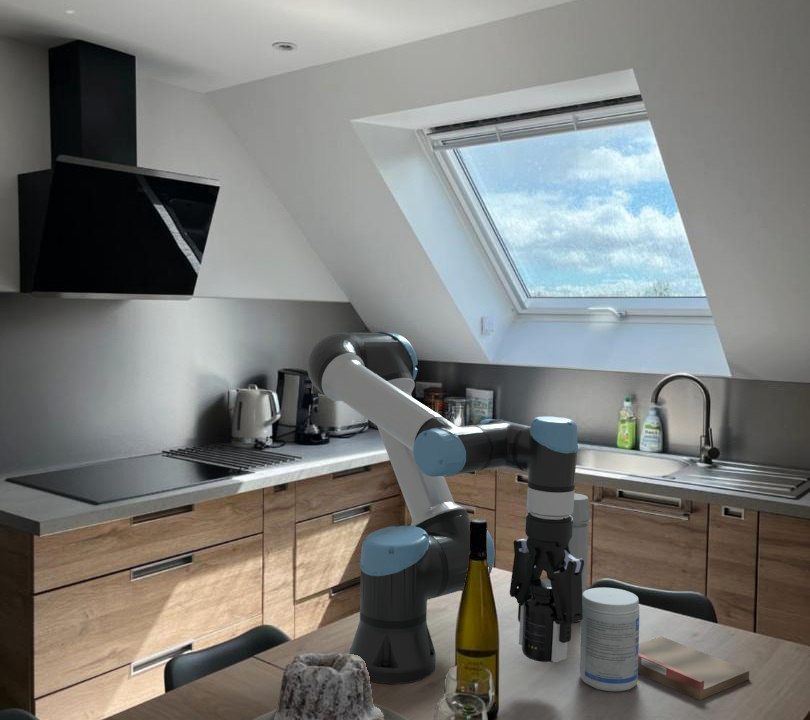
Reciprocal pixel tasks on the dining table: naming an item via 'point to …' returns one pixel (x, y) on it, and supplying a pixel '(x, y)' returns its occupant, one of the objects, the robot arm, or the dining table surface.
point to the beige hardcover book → (687, 668)
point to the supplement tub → (609, 639)
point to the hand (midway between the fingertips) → (542, 650)
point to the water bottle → (580, 533)
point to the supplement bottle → (539, 621)
